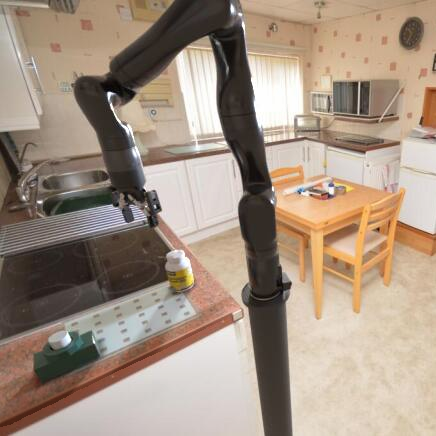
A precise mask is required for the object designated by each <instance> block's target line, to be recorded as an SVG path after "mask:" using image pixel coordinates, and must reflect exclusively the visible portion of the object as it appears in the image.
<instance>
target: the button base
mask: <svg viewBox="0 0 436 436" xmlns="http://www.w3.org/2000/svg"><path fill="white" fill-rule="evenodd" d="M67 332H68V334H69V336H70V338H71V340H72V341H71V343H70V344H69V345H68V346H66V347H64V348H62V349H60V350H53V349H52V347H51V345H50V344H49V342H48V341H47V342H46V343H44V346H42V350H40V351H37V352H35V353H33V363H32V364H33V368H32V369H33V372H34V374H35V375H36V377H37V378H38V380H39V381H40V383H41V384H44V383H46V382H48V381H50V380H52V379H54V378H57V377H59V376H62V375H64V374H66V373H68V372H70V371H72V370H74V369H77V368H78V367H81V366H83V365H86V364H87V363H89V362H91V361H94V360H96V359H98V358H101V351H100V347H99V342H98V340H97V338H96V336H95V334H94V332H93V330H92V329H91V330H89V331H86V332H84V333H81V334H80V333H79V332H76V331H67Z"/></svg>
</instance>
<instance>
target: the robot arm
mask: <svg viewBox="0 0 436 436" xmlns="http://www.w3.org/2000/svg"><path fill="white" fill-rule="evenodd" d="M245 27H246V26H245V16H244V10H243V5H242V3H241V1H240V0H173V1H172V3H170V5H169V6H168V7H167V8H166V10H165V11H164V12H163V13H161V15H160V16H159V17H158V18H157V19H156V21H155V22H153V24H152V25H151V26H150V27H148V29H146V30H145V31H144V32H143V33H142V34H141V35H140V36H139V37H137V38H136V39H134V41H132V42H131V43H129V45H127V46H126V47H124V48H123V49H122V50H121V51H120V52H118V53H117V54H116V55H115V56H114V57H112V58H111V59H110V61H109V63H108V69H109V70H108V72H106V73H105V74H102V75H101V74H100V75H98V74H95V75H94V74H91V75H90V74H87V75H80V76H78V77H77V78H76V79H75V80H74V82H73V85H72V86H73V87H72V91H73V92H72V93H73V96H74V97H73V98H74V99H75V102H76V104H77V106H78V108H79V109H80V110H81V112H82V113H83V115H84V117H85V118H86V120H87V121H88V123H89V125H90V126H91V128H92V129H93V131H94V133H95V135H96V138H97V142H98V145H99V149H100V151H101V156H102V160H103V164H104V167H105V169H106V173H107V175H108V178H109V182H110V185H109V186H107V190H108V194H109V197H110V201H111V204H112V207H113V208H118V210H119V211H121V214H122V217H123V220H124V223H126V224H130V223H133V222H134V221H135V216H134V212H133V210H132V207H131V206H132V205H133V206H136V207H137V208H138V210H140V211H141V210H142V212H143V213H144V214H145V216H146V219H147V220H146V221H147V223H148V226H149V228H150V229H155V228H157V227H159V224H160V222H159V218H158V215H157V214H159V213H161V212H162V211H163V209H162V208H163V207H162V205H161V201H160V199H159V195H158V191H157V190H155V189H152V190H147V188H146V187H145V184H146V183H147V179H148V178H147V175H146V173H145V168H144V165H143V161H142V158H141V155H140V152H139V150H138V147H137V144H136V141H135V140H136V139H135V137H134V134H133V130H132V127H131V126H130V124H129V123H128V122H127V121H124V120H119V118H118V117H117V115H116V113H115V112H114V110H117V109H118V110H119V109H121V108H123V107H125V106H127V105H128V104H130V103H131V102H132V101H133V100H134V99H135V98H136V97H137V95H138V94H139V92H141V90H142V89H143V88H145V87H147V86H148V85H150V84H151V83H152V82H153V81H155V80H156V79H157V78H159V77H160V76H161V75H162V74H163V73H165V72H166V71H167V70H168V68H170V66H171V65H172V63H173V62H174V61H175V59H176V58H177V57H178V56H179V54H180V53H181V52H183V51H184V50H185V49H186V48H188V47H189V46H191V45H192V44H194V43H196V42H198V41H199V40H202V39H203V38H205V37H208V39H209V44H210V46H211V50H212V54H213V58H214V62H215V71H216V82H215V83H216V86H215V89H216V90H215V102H216V110H217V115H218V119H219V123H220V127H221V131H222V135H223V138H224V141H225V143H226V145H227V147H228V149H229V151H230V153H231V155H232V156H233V158H234V160H235V162H236V164H237V167H238V170H239V175H240V178H241V186H242V195H241V197H240V199H239V201H238V204H237V216H238V217H237V218H238V223H239V230H240V236H241V238H242V240H243V242H244V243H243V244H244V245H243V246H244V252H245V260H246V269H247V277H248V282H249V284H248V286H249V288H250V295H251V297H252V298H253V299H255V300H258V301H269V300H272V299H274V298H276V297H277V296H278V295H279V294H281V293H283V291H286V290H289V289H290V290H292V285H293V282H292V280H291V279H290V278H289V276H288V274H287V273H286V271H283V266H282V264H281V263H280V262H281V261H280V247H279V233H278V231H277V217H276V216H277V215H276V209H277V205H278V204H277V203H278V198H277V193H276V189H275V187H274V184H273V181H272V177H271V174H270V171H269V166H268V162H267V150H266V149H267V148H266V141H265V134H264V127H263V122H262V116H261V112H260V106H259V103H258V96H257V92H256V88H255V83H254V80H253V75H252V71H251V67H250V61H249V56H248V46H247V37H246V28H245ZM117 199H118V201H117ZM145 202H146V203H145Z"/></svg>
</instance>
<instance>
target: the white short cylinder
mask: <svg viewBox="0 0 436 436" xmlns="http://www.w3.org/2000/svg"><path fill="white" fill-rule="evenodd" d="M68 332H69V331H67V330H59V331H57V332H55V333H53V334H52V335H50V336H49V337H48V339H47V342H49V344H50V345H51V347H52V349H53V350H60V349H62V348H64V347H66V346H68V345H69V344H70V343H71V341H72V340H71V338H70V336H69V334H68Z"/></svg>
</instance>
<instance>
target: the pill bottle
mask: <svg viewBox="0 0 436 436" xmlns="http://www.w3.org/2000/svg"><path fill="white" fill-rule="evenodd" d="M165 256H166V260H167V261H166V262H165V265H164V268H165V271H166V276H167V279H168V282H169V286H170V289H171V291H173V292H176V293H181V292H186V291H188V290H190V289H192V287H193V286H194V283H195V279H194V275H193V270H192V266H191V265H192V264H191V261H190V259H189V258H188V257H186V254H185V251H184V250H182V249H174V250H171V251H169V252H168V253H166V255H165Z"/></svg>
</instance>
